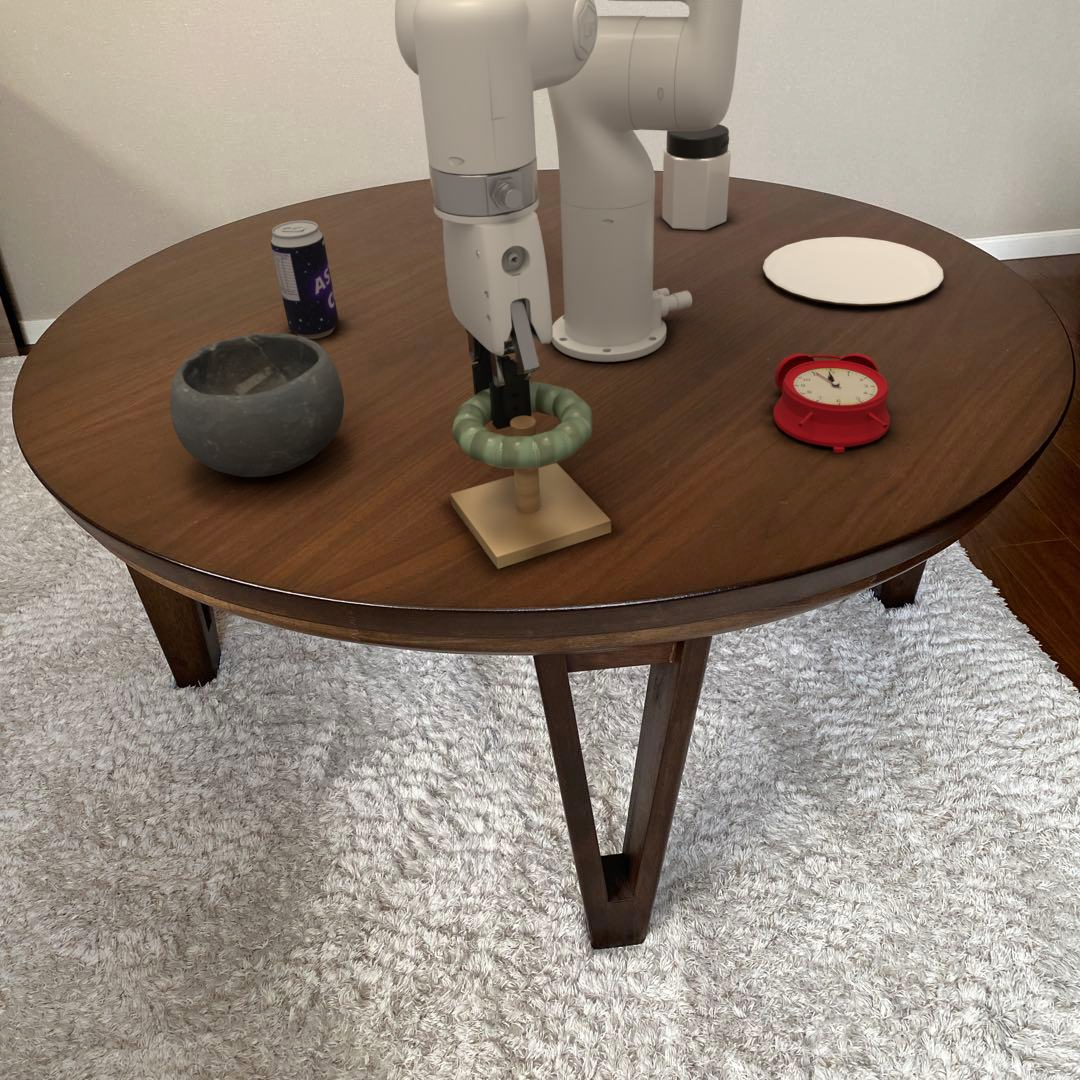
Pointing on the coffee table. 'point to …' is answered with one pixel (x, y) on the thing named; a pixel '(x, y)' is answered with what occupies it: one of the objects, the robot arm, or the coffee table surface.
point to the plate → (853, 271)
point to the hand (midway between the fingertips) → (503, 412)
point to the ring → (524, 448)
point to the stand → (529, 510)
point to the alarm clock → (831, 400)
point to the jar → (696, 178)
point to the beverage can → (304, 278)
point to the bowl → (257, 403)
